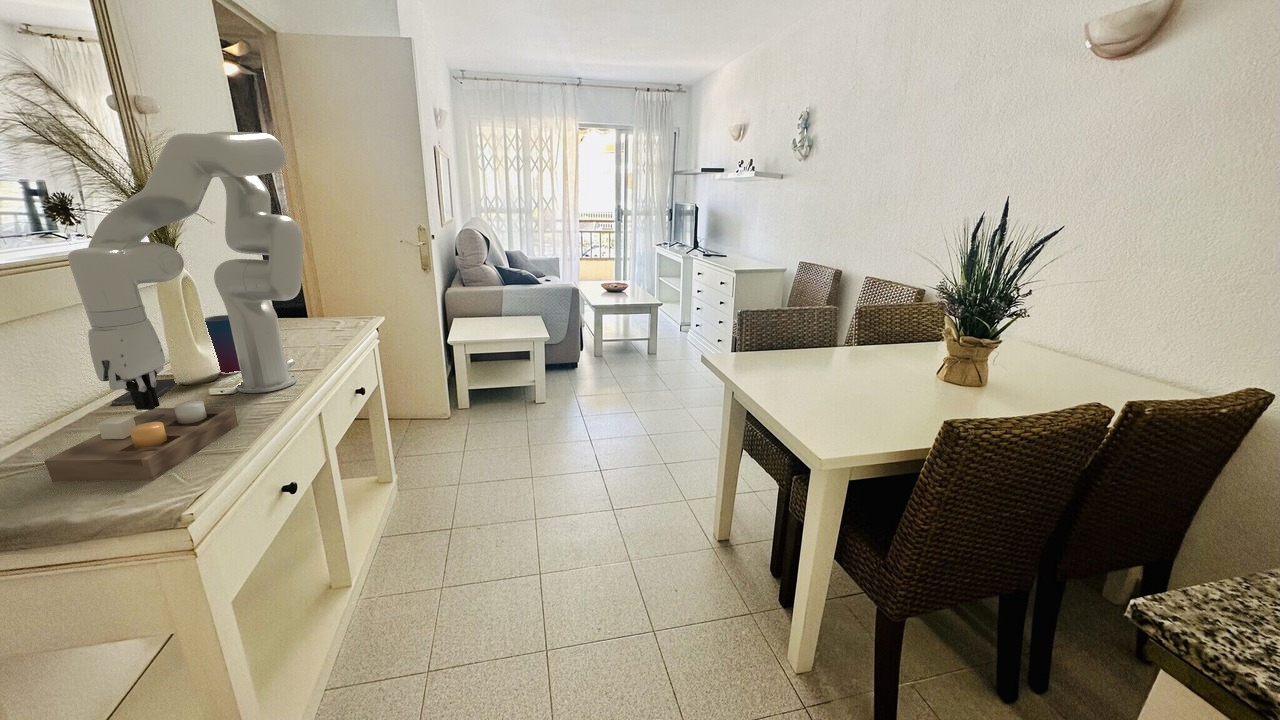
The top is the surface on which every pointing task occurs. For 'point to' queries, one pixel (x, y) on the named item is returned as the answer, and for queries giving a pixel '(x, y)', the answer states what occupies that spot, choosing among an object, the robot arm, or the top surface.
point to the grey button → (190, 412)
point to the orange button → (148, 434)
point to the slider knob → (116, 427)
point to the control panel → (140, 449)
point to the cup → (223, 342)
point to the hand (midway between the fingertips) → (148, 407)
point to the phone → (160, 387)
